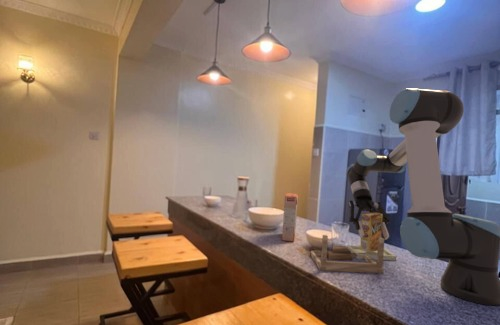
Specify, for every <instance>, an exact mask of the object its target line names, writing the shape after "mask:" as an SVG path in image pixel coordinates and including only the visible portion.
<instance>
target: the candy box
mask: <svg viewBox="0 0 500 325" xmlns="http://www.w3.org/2000/svg"><path fill="white" fill-rule="evenodd" d="M382 216H383V214H380V213H375V212H373V213H370V212H368V213H367V212H366V213H361V224H362V228H363V231H364V237H363V238H360V245H359V246H360V250H362V251H365V252H367V253H370V252H374V251H378V238H382V234H383V232H382Z"/></svg>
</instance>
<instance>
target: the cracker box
mask: <svg viewBox="0 0 500 325" xmlns="http://www.w3.org/2000/svg"><path fill="white" fill-rule="evenodd" d="M298 196H299V194H298V193H294V192H293V193H292V192H286V194H285V195H284V203H283V218H282V219H283V220H282V230H281V231H282V233H281V241H284V242H292V243H293V242H295V236H296V228H297V227H296V226H297V215H298V214H297V213H298V202H299V201H298Z"/></svg>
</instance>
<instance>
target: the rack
mask: <svg viewBox="0 0 500 325" xmlns="http://www.w3.org/2000/svg"><path fill="white" fill-rule="evenodd" d="M328 240H329V236H328V235H327V234H322V240H321V250H310V252H309V255H310V256H311V258H312V259H313V262H314V263H315V264H316V265H317V267H318V268H319V270H320V271H325V272H326V271H327V272H328V271H329V272H348V273H349V272H351V273H368V274H370V273H371V274H381V275H382V274H384V267H383V264H384V260H383V253H384V248H385V238H384V237H381V238H378V253H377V260H376V261H375V260H374V259H371V258H370V257H368V256H367V255H364V259H363V260H364V261H366V262H358V261H357V262H355V261H353V258H356V253H352V252H351V251H350V250H349V249H348V248H347V245H332V244H331V248H330V250H328ZM358 254H365V253H358ZM319 256H320V258H321V260H320V258H319ZM327 259H328V260H327ZM335 260H336V261H335ZM339 260H340V261H339Z"/></svg>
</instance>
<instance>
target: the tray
mask: <svg viewBox="0 0 500 325" xmlns="http://www.w3.org/2000/svg"><path fill="white" fill-rule="evenodd" d="M346 247H347V248H348V249H349V250H350V251H351V252H352V253H356V257H355V259H357V260H358V259H359V260H364V255H367V256H368V257H370V258H371V259H372V260H373V261H375V260H376V261H377V253H378V251H374V252H370V253H367V252H365V251H362V250H360V245H352V244H351V245H349V244H347V245H346ZM358 253H365V254H358ZM383 261H395V262H397V256H396V255H395V254H394V253H392V252H391V251H390V250H388V249H386V248H385V247H384V253H383Z"/></svg>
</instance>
